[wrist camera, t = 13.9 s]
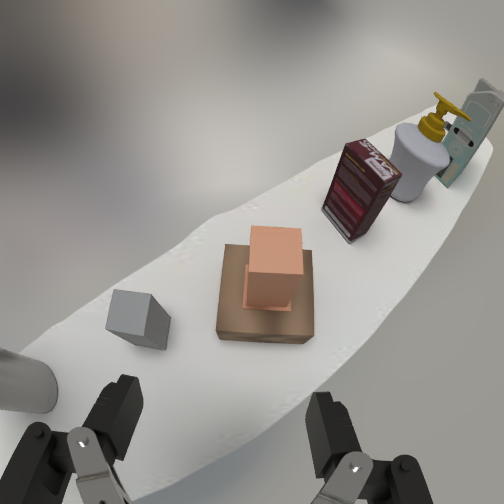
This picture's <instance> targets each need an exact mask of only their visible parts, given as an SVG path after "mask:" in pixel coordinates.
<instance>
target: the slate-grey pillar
mask: <svg viewBox="0 0 504 504" xmlns="http://www.w3.org/2000/svg"><path fill="white" fill-rule="evenodd" d="M170 319H171V317H170V316H169V315H168V314H167V312H166V311H165V310H164V309H163V308H162V307H161V305H160V304H159V303H158V302H157V301H156V299H155V298H154V297H153V296H152V294H148V293H139V292H132V291H124V290H117V289H114V290H113V295H112V299H111V303H110V308H109V313H108V317H107V322H106V327H105V329H106V330H108V331H110V332H112V333H113V334H115V335H117V336H119V337H121V338H122V339H124V340H126V341H128V342H130V343H132V344H134V345H138V346H144V347H150V348H156V349H162V350H166V347H167V340H168V333H169V326H170Z"/></svg>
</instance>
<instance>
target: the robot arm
mask: <svg viewBox="0 0 504 504" xmlns="http://www.w3.org/2000/svg"><path fill="white" fill-rule="evenodd" d="M56 401H57V383H56V380H55V377H54V375H53V373H52V371H51V370H50V368H49V367H48V366H47V365H46V364H44V363H43V362H40V361H37V360H34V359H31V358H28V357H25V356H22V355H19V354H16V353H13V352H10V351H8V350H5V349H2V348H0V410H8V411H18V412H31V413H47V412H49V411H50V410H52V409H53V407H54V406H55V403H56ZM142 409H143V396H142V392H141V387H140V383H139V379H138V378H137V377H134V376H129V375H124V374H122V375H121V376H120V378H119V379H118V381H117V383H113V382H111V383H109V384H108V385H107V386H106V387H104V388H103V390H102V392H101V393H100V395H99V397H98V399H97V400H96V403H95V404H94V406H93V408H92V409H91V411H90V413H89V415H88V417H87V418H86V420H85V422H84V424H83V425H82V427H77V428H74V429H73V430H71V431H70V432H69V433H66V432H57V431H51V429H50V428H49V426H48V425H46V424H45V423H42V422H35V423H32V424H31V425H29V426H28V428H27V429H26V431H25V433H24V435H23V436H22V438H21V440H20V442H19V444H18V445H17V447H16V449H15V451H14V453H13V455H12V457H11V459H10V461H9V463H8V465H7V467H6V469H5V471H4V473H3V475H2V477H1V479H0V504H62V501H63V498H64V495H65V492H66V489H67V486H68V483H69V480H70V478H71V475H72V473H77V476H78V479H76V484H77V487H78V490H79V492H80V495H81V498H82V500H83V503H84V504H133V502H132V501H131V499H130V498H129V496H128V494H127V492H126V490H125V488H124V487H123V485H122V482H121V480H120V478H119V476H118V474H117V472H116V470H115V467H114V465H113V464H114V462H115V459H118V460H121V461H123V460H124V457H125V455H126V452H127V449H128V446H129V444H130V441H131V438H132V436H133V433H134V430H135V428H136V425H137V422H138V420H139V417H140V415H141V412H142ZM305 421H306V428H307V433H308V438H309V443H310V448H311V453H312V458H313V464H314V469H315V474H316V478H324V481H325V484H324V486H323V487H322V489H321V490H320V492H319V493H318V494H317V496H316V497H315V498H314V500H313V501H312V502H311V504H354V503H355V501H356V499H367V502H368V504H433V501H432V498H431V495H430V493H429V490H428V487H427V484H426V481H425V479H424V476H423V473H422V471H421V468H420V466H419V463H418V461H417V460H416V459H415V458H414V457H412V456H410V455H400V456H398V457H396V458H395V459H394V460H393V461H380V460H373V459H371V458H370V457H369V456H368V455H367V454H365V453H363V452H362V450H361V448H360V445H359V442H358V439H357V436H356V433H355V431H354V428H353V426H352V422H351V419H350V417H349V414H348V411H347V409H346V407H345V406H344V405H343V404H342V403H341V402H340V401H339V402H333V399H332V396H331V393H330V392H313V394H312V396H311V399H310V403H309V406H308V409H307V412H306V419H305Z"/></svg>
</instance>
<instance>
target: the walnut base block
mask: <svg viewBox="0 0 504 504" xmlns="http://www.w3.org/2000/svg"><path fill="white" fill-rule="evenodd" d="M249 250H250V246H247V245H233V244H225V251H224V259H223V268H222V277H221V286H220V295H219V304H218V314H217V323H216V332H217V335H218V337H219V339H222V340H234V341H248V342H265V343H289V344H304V343H305V342H307V341H308V340H309V339H310V338H312V337H313V336H314V293H313V266H312V250H303V249H302V253H303V276H302V278H301V280H300V282H299V284H298V286H297V288H296V290H295V292H294V294H293V296H292V298H291V300H290V302H289V304H288V306H287V307H265V306H246V301H247V282H248V265H249Z"/></svg>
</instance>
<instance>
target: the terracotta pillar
mask: <svg viewBox="0 0 504 504" xmlns="http://www.w3.org/2000/svg"><path fill="white" fill-rule="evenodd" d="M302 276H303V253H302V235H301V229H298V228H283V227H267V226H251V235H250V250H249V265H248V282H247V301H246V306H265V307H287V306H288V304H289V302H290V300H291V298H292V296H293V294H294V292H295V290H296V288H297V286H298V284H299V282H300V280H301V278H302Z"/></svg>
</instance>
